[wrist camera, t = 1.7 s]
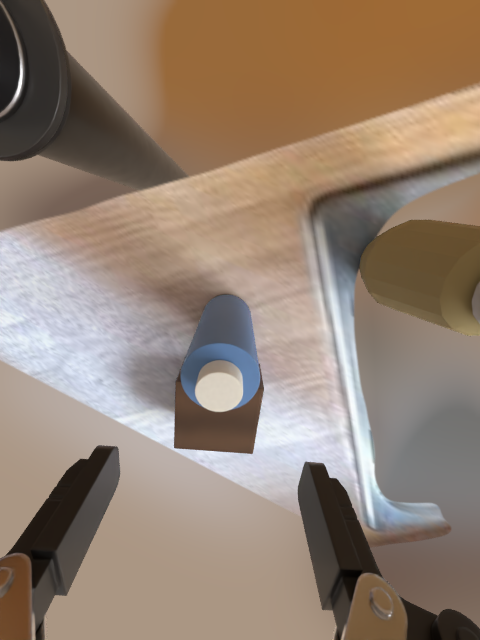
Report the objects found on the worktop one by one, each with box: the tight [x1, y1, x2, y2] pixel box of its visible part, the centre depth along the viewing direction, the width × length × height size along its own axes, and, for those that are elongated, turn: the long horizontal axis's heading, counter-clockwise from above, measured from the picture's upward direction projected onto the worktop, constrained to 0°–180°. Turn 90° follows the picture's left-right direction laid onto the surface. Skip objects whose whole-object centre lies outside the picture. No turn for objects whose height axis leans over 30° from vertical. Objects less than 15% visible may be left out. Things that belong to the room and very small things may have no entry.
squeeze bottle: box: [359, 220, 480, 336], centre depth 18 cm, size 8×8×18 cm
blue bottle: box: [180, 295, 260, 412], centre depth 22 cm, size 5×5×14 cm
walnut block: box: [174, 357, 264, 454], centre depth 29 cm, size 9×9×5 cm
